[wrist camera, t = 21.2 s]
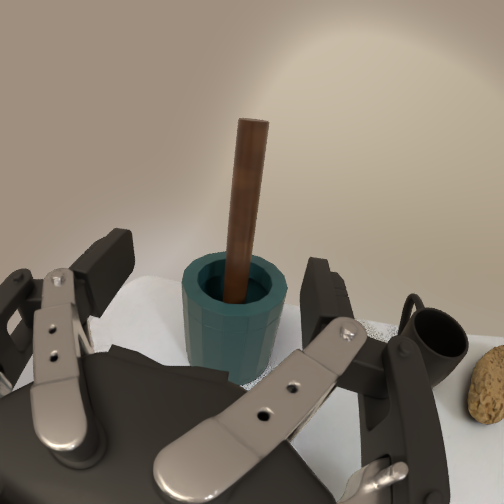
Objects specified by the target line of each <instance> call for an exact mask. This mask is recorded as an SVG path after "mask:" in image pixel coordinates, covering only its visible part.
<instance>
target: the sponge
mask: <svg viewBox="0 0 504 504" xmlns="http://www.w3.org/2000/svg"><path fill="white" fill-rule="evenodd" d="M468 404H469V405H468V409H469V412H470V413H471V415H472V417H473V418H475V420H476V421H478V422H480V423H483V424H493V423H497V422H499V421H500V420H502V419H503V418H504V345H501V346H498V347H494V348H493V349H492V350H490V351H489V352H487V353H486V354H485V355H484V356H483V357H482V358H481V359H480V360H479V361H478V362H477V363H476V365H475V368H474V369H473V374H472V377H471V385H470V391H469V393H468Z"/></svg>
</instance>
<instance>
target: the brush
mask: <svg viewBox="0 0 504 504" xmlns="http://www.w3.org/2000/svg"><path fill="white" fill-rule="evenodd" d="M268 129H269V122H268V121H264V120H257V119H248V118H239V120H238V129H237V138H236V148H235V158H234V168H233V178H232V190H231V201H230V212H229V224H228V236H227V249H226V262H225V276H224V290H223V302H224V303H227V304H245V302H246V295H247V287H248V279H249V272H250V264H251V257H252V249H253V241H254V234H255V227H256V219H257V212H258V204H259V196H260V188H261V181H262V173H263V166H264V158H265V151H266V144H267V136H268Z"/></svg>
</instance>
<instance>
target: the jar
mask: <svg viewBox="0 0 504 504" xmlns="http://www.w3.org/2000/svg"><path fill="white" fill-rule="evenodd" d="M225 262H226V251H225V252H218V253H212V254H207V255H205V256H203V257H201V258H198V259H196V260H194V261H193V262H192V263H191V264H190V265H189V266H188V267H187V268H186V269H185V271H184V274H183V279H182V298H183V315H184V328H185V340H186V351H187V354H188V360H189V363H190V365H191V366H200V367H205V368H210V369H216V370H222V371H228V372H229V379H228V381H231V382H233V383H235V384H237V385H243V384H247V383H249V382H251V381H253V380H255V379H256V378H258V377H259V376H260V375H261V374H262V373H263V372H264V370H265V369H266V366H267V364H268V360H269V358H270V355H271V351H272V348H273V344H274V340H275V336H276V333H277V329H278V325H279V321H280V317H281V313H282V309H283V305H284V301H285V297H286V293H287V289H288V287H287V284H286V280H285V277H284V275H283V274H282V273H281V272H280V271H279V270H278V268H277V267H276V266H275V265H274V264H272V263H270V262H268V261H266V260H265V259H263V258H261V257H258V256H254V255H252V257H251V264H250V272H249V279H248V287H247V295H246V302H245V304H227V303H224V302H223V290H224V276H225Z"/></svg>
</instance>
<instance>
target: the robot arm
mask: <svg viewBox="0 0 504 504" xmlns="http://www.w3.org/2000/svg"><path fill="white" fill-rule="evenodd" d="M134 265H135V256H134V247H133V239H132V233H131V231H130V230H127V229H119V228H115V229H113V230H112V231H111V232H110V233H109V234H108V235H107V236H106V237H103V238H101V239H99V240H97V241H96V242H94V243H93V244H92V245H91V246H90V247H89V249H87V250H86V251H85V253H84V254H82V255H81V256H80V257H79V258H78V259H77V260H76V261H75V262H74V263H73V264H72V265H71V267H69V268H68V269H67V268H59V269H56V270H53V271H51V272H50V273H48V274H47V275H46V277H45V278H44V279H33V277H32V274H31V272H30V270H28V269H19V270H16V271H14V272H13V273H11V274H10V275H9V276H8V277H7V278H6V279H5V281H4V282H3V283H2V284H1V285H0V504H449V503H450V485H449V475H448V467H447V460H446V453H445V447H444V441H443V436H442V431H441V426H440V421H439V416H438V412H437V408H436V404H435V399H434V396H433V392H432V388H431V384H430V381H429V377H428V374H427V370H426V367H425V364H424V361H423V357H422V354H421V351H420V349H419V347H418V345H417V344H416V343H415V342H414V341H413V340H411V339H410V338H408V337H405V336H401V335H397V336H393V337H392V338H391V339H390V340H389V341H388V343H385V342H382V341H379V340H376V339H373V338H370V337H368V336H367V332H366V329H365V328H364V326H363V325H362V324H361V323H359V322H358V321H356V320H355V319H354V315H353V311H352V308H351V304H350V300H349V297H348V294H347V290H346V286H345V283H344V280H343V279H342V278H341V277H340V275H339V274H338V273H337V272H330V268H329V264H328V261H327V259H321V258H313V257H310V258H309V260H308V264H307V268H306V271H305V275H304V279H303V283H302V286H301V291H300V312H301V329H302V348H303V351H301V350H300V349H297V350H295V351H294V352H292V353H291V354H290V355H289V356H288V357H287V358H286V359H285V360H284V361H283V362H281V363H280V364H279V365H278V366H277V367H276V368H275V369H274V370H272V371H271V372H270V373H269V374H268V375H267V376H266V377H264V378H263V379H262V380H261V381H260V382H259V383H257V384H256V385H255V386H254V387H253V388H251V389H250V390H249V391H247V390H245V389H244V388H242V387H241V386H239V385H237V384H235V383H233V382H231V381H228V379H229V372H228V371H222V370H216V369H210V368H205V367H200V366H165V365H162V364H160V363H158V362H156V361H154V360H152V359H150V358H148V357H146V356H145V355H143V354H141V353H139V352H137V351H133V350H130V349H126V348H123V347H120V346H116V345H113V344H112V346H111V348H110V349H109V351H108V352H99V353H95V352H94V347H93V342H92V337H91V331H90V325H89V321H88V317H89V316H90V315H91V316H94V317H98V318H100V317H101V316H102V314H103V313H104V311H105V310H106V308H107V307H108V305H109V304H110V302H111V301H112V299H113V298H114V297H115V295H116V294H117V292H118V291H119V289H120V288H121V287H122V285H123V284H124V282H125V281H126V280H127V278H128V277H129V275H130V274H131V273H132V271H133V269H134ZM17 309H18V311H19V313H20V315H21V317H22V320H21V321H20V323H19V324H18V325H17V327H16V328H15V330H14V331H13V333H12V334H11V335H9V334H8V331H7V323H8V320H9V319H10V317H11V316H12V315H13V314H14V312H15V311H16V310H17ZM32 354H33V372H34V381H33V382H31V383H29V384H27V385H25V386H23V387H21V388H19V389H17V390H15V391H13V392H12V390H13V388H14V386H15V384H16V383H17V381H18V379H19V377H20V375H21V373H22V371H23V370H24V368H25V366H26V364H27V363H28V361H29V359H30V358H31V356H32ZM337 386H338V387H341V388H344V389H347V390H350V391H353V392H356V393H358V404H359V418H360V435H361V467H362V468H361V469H360V470H358V471H356V472H355V473H354V474H353V475H352V476H351V477H350V478H349V480H348V483H347V487H346V491H345V493H344V495H343V497H342V498H341V499H340V500H339V501H337V502H336V501H335V498H334V497H333V495H332V493H331V492H330V491H329V490H328V489H327V487H326V486H325V485H324V484H323V483H322V482H321V481H320V479H319V478H318V477H317V476H316V475H315V473H314V472H313V471H312V470H311V469H310V468H309V466H308V465H307V464H306V463H305V461H304V460H303V459H302V458H301V457H300V455H299V454H298V453H297V452H296V450H295V449H294V448H293V447H292V445H291V444H290V442H291V441H292V440H293V439H294V438H295V437H296V435H297V434H298V433H299V432H300V431H301V430H302V429H303V428H304V426H305V425H306V424H307V423H308V422H309V420H310V419H311V418H312V417H313V416H314V414H315V413H316V412H317V411H318V410H319V409H320V407H321V406H322V405H323V404H324V402H325V401H326V400H327V399H328V398H329V396H330V395H331V394H332V393H333V391H334V390H335V389H336V387H337Z"/></svg>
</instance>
